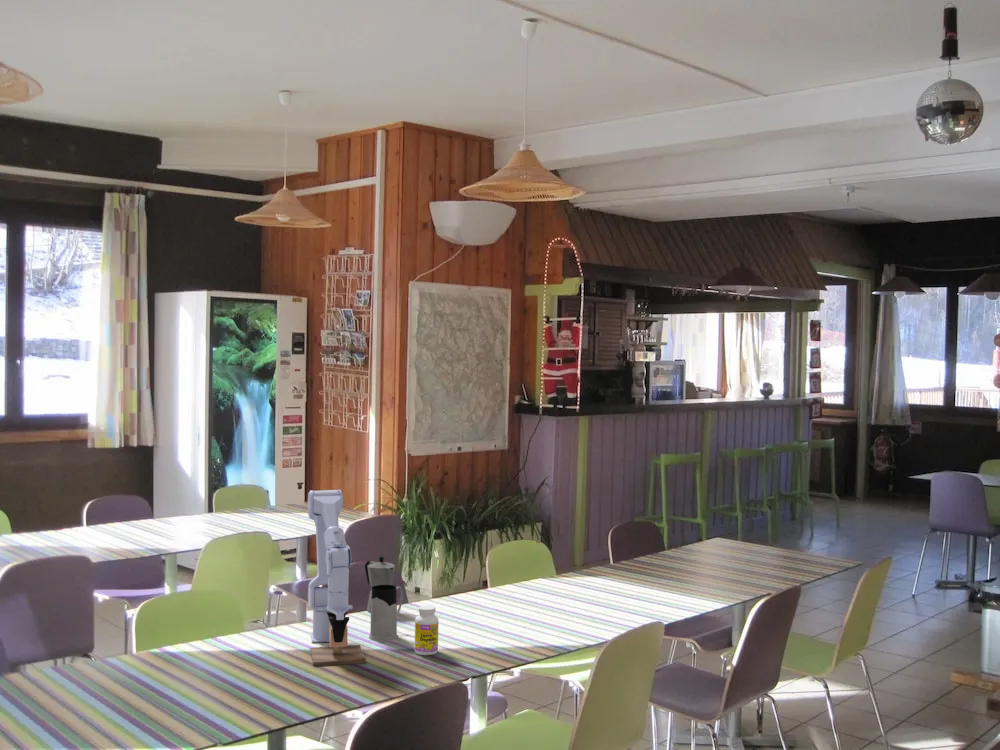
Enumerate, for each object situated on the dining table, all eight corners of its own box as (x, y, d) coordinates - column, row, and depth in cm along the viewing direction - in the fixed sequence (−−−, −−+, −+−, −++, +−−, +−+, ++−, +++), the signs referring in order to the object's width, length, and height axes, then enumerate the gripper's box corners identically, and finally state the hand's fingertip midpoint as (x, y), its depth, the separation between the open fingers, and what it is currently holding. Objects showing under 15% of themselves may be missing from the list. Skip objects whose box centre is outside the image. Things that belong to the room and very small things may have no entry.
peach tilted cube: (329, 642, 272) (329, 625, 272) (345, 641, 273) (346, 624, 273) (330, 647, 267) (330, 629, 267) (347, 646, 269) (347, 628, 268)
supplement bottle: (416, 656, 271) (417, 611, 271) (412, 650, 278) (413, 605, 278) (440, 655, 273) (440, 609, 273) (435, 648, 279) (436, 604, 279)
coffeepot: (404, 612, 321) (404, 557, 321) (381, 616, 314) (381, 561, 314) (376, 603, 332) (376, 551, 332) (353, 607, 325) (354, 554, 325)
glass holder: (362, 638, 289) (363, 588, 288) (389, 627, 301) (390, 579, 301) (387, 643, 284) (387, 592, 284) (413, 631, 297) (414, 582, 297)
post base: (310, 651, 275) (310, 633, 275) (359, 648, 279) (360, 630, 279) (313, 666, 262) (313, 646, 262) (365, 662, 265) (365, 643, 265)
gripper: (355, 596, 264) (354, 645, 264) (350, 584, 278) (349, 631, 278) (329, 597, 262) (328, 647, 262) (325, 585, 276) (324, 633, 276)
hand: (337, 639), depth 270 cm, fingers closed on peach tilted cube, 5 cm apart
